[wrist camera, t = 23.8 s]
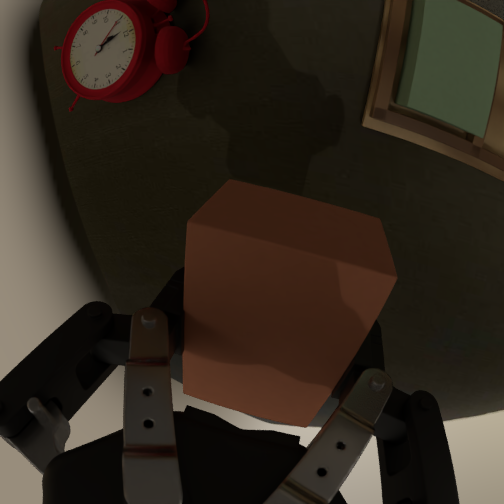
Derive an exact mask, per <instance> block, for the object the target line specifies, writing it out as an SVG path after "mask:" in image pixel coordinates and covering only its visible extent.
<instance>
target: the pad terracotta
mask: <svg viewBox="0 0 504 504" xmlns="http://www.w3.org/2000/svg"><path fill="white" fill-rule="evenodd" d="M396 280H397V274H396V270H395V267H394V263H393V259H392V256H391V252H390V249H389V246H388V242H387V239H386V236H385V233H384V230H383V226H382V223H381V220H380V219H379V218H376V217H372V216H369V215H366V214H362V213H359V212H356V211H352V210H349V209H345V208H342V207H338V206H335V205H331V204H327V203H324V202H320V201H316V200H313V199H309V198H305V197H301V196H298V195H294V194H290V193H286V192H282V191H278V190H274V189H270V188H266V187H261V186H257V185H253V184H249V183H244V182H240V181H236V180H231V179H230V180H228V181H227V182H226V183H225V184H224V185H223V186H222V187H221V188H220V189H219V190H218V191H217V192H216V193H215V194H214V195H213V196H212V197H211V198H210V199H209V200H208V201H207V202H206V203H205V204H204V205H203V206H202V207H201V208H200V209H199V210H198V211H197V212H196V213H195V214H194V215H193V216H192V217H191V218H190V219H189V221H188V222H187V235H186V253H185V274H184V304H183V310H184V311H185V319H184V352H183V393H184V394H187V395H190V396H192V397H195V398H198V399H201V400H204V401H207V402H210V403H214V404H216V405H219V406H223V407H226V408H229V409H233V410H236V411H239V412H243V413H246V414H250V415H254V416H257V417H261V418H265V419H269V420H273V421H277V422H282V423H286V424H290V425H295V426H300V427H304V428H306V427H307V426H308V425H309V423H310V422H311V421H312V419H313V418H314V417H315V415H316V414H317V412H318V411H319V410H320V408H321V407H322V405H323V404H324V402H325V401H326V400H327V398H328V397H329V395H330V394H331V392H332V391H333V389H334V388H335V386H336V385H337V383H338V381H339V380H340V378H341V377H342V375H343V374H344V372H345V371H346V369H347V367H348V366H349V364H350V363H351V361H352V359H353V358H354V356H355V355H356V353H357V351H358V350H359V348H360V346H361V345H362V343H363V341H364V340H365V338H366V336H367V335H368V333H369V331H370V329H371V328H372V326H373V324H374V322H375V320H376V319H377V317H378V315H379V313H380V311H381V309H382V307H383V306H384V304H385V302H386V300H387V298H388V296H389V294H390V292H391V290H392V288H393V286H394V284H395V282H396Z"/></svg>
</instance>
